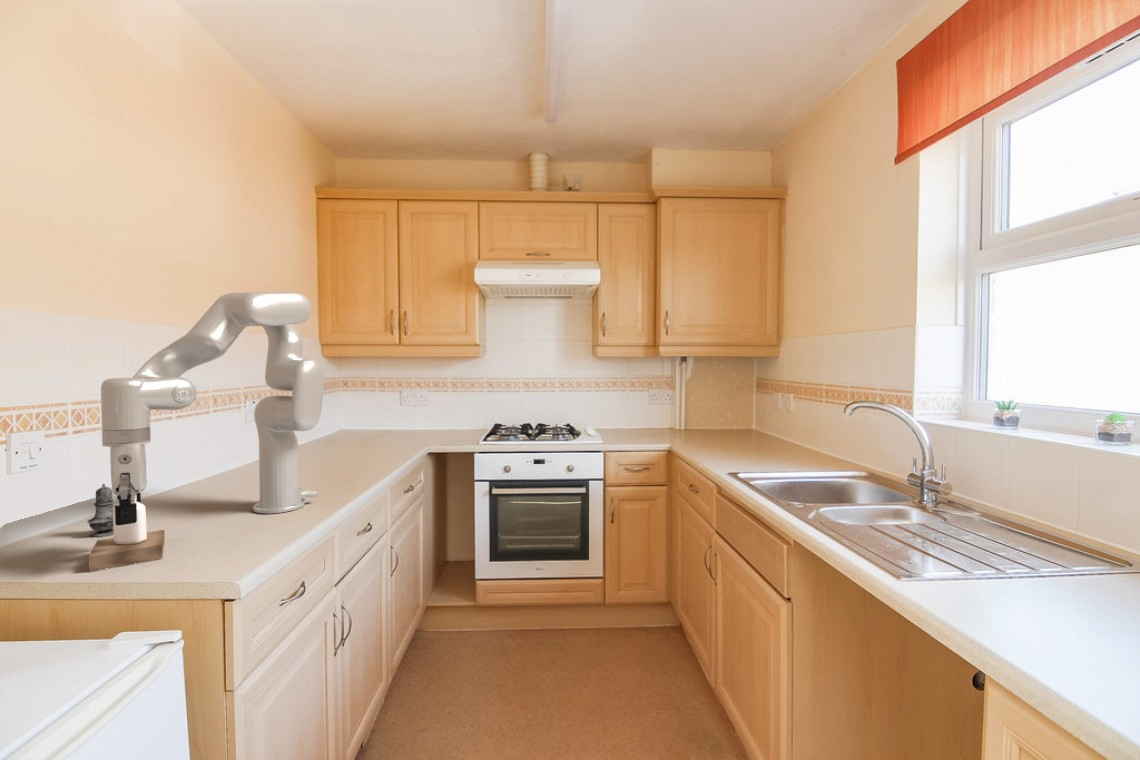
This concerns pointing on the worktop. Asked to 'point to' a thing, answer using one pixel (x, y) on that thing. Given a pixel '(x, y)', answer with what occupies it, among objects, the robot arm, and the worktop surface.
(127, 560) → the walnut stand
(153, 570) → the worktop surface
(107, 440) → the robot arm
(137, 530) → the eye dropper bottle
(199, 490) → the worktop surface
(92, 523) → the salt shaker
